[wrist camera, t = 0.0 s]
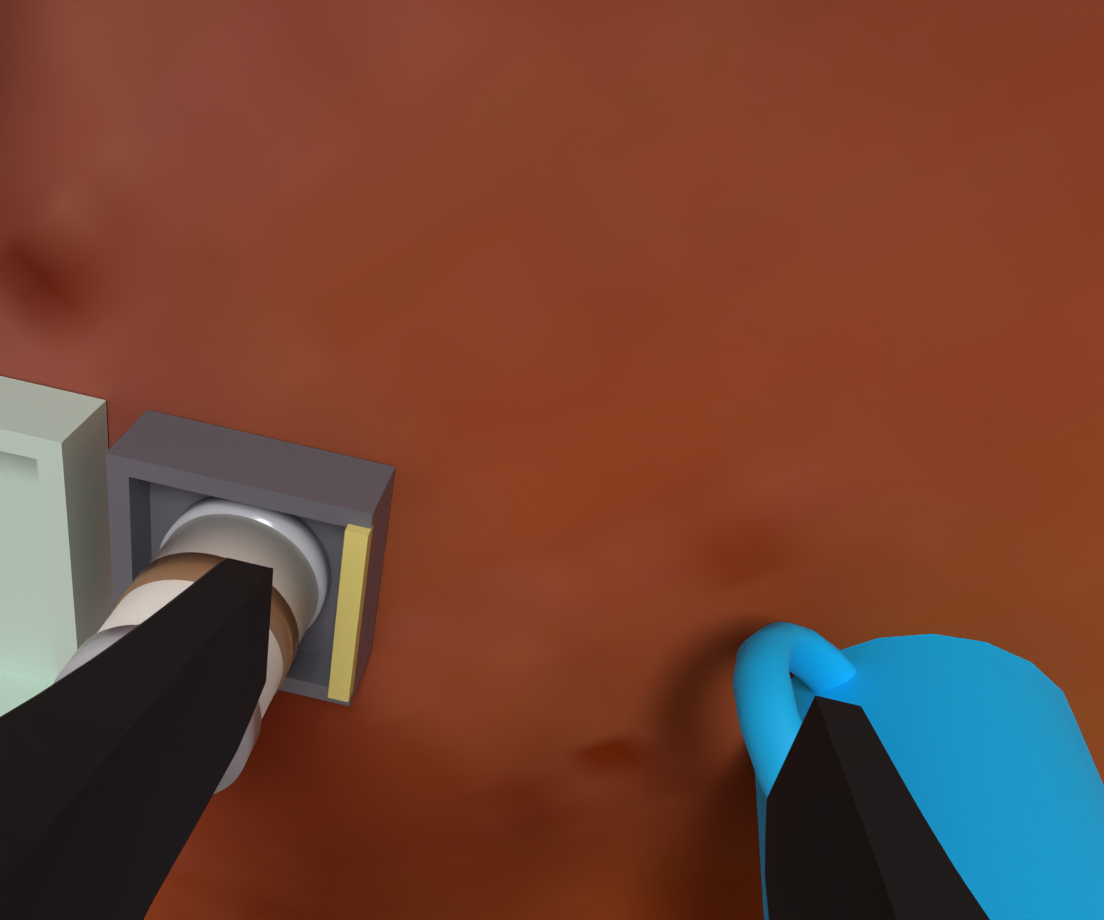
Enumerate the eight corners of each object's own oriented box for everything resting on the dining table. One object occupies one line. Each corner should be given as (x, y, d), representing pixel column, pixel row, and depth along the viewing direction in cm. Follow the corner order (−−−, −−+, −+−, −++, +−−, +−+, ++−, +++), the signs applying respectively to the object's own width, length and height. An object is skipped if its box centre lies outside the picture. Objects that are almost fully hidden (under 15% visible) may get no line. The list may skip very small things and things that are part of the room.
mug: (1134, 788, 27) (1288, 1122, 20) (854, 889, 30) (902, 1205, 23) (897, 465, 23) (985, 741, 16) (604, 623, 26) (570, 909, 19)
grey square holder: (371, 652, 27) (347, 713, 25) (152, 601, 27) (111, 659, 25) (396, 467, 24) (369, 521, 22) (147, 409, 24) (100, 459, 22)
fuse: (325, 641, 26) (244, 817, 21) (172, 605, 26) (55, 774, 21) (338, 515, 24) (250, 680, 19) (170, 476, 24) (41, 632, 19)
